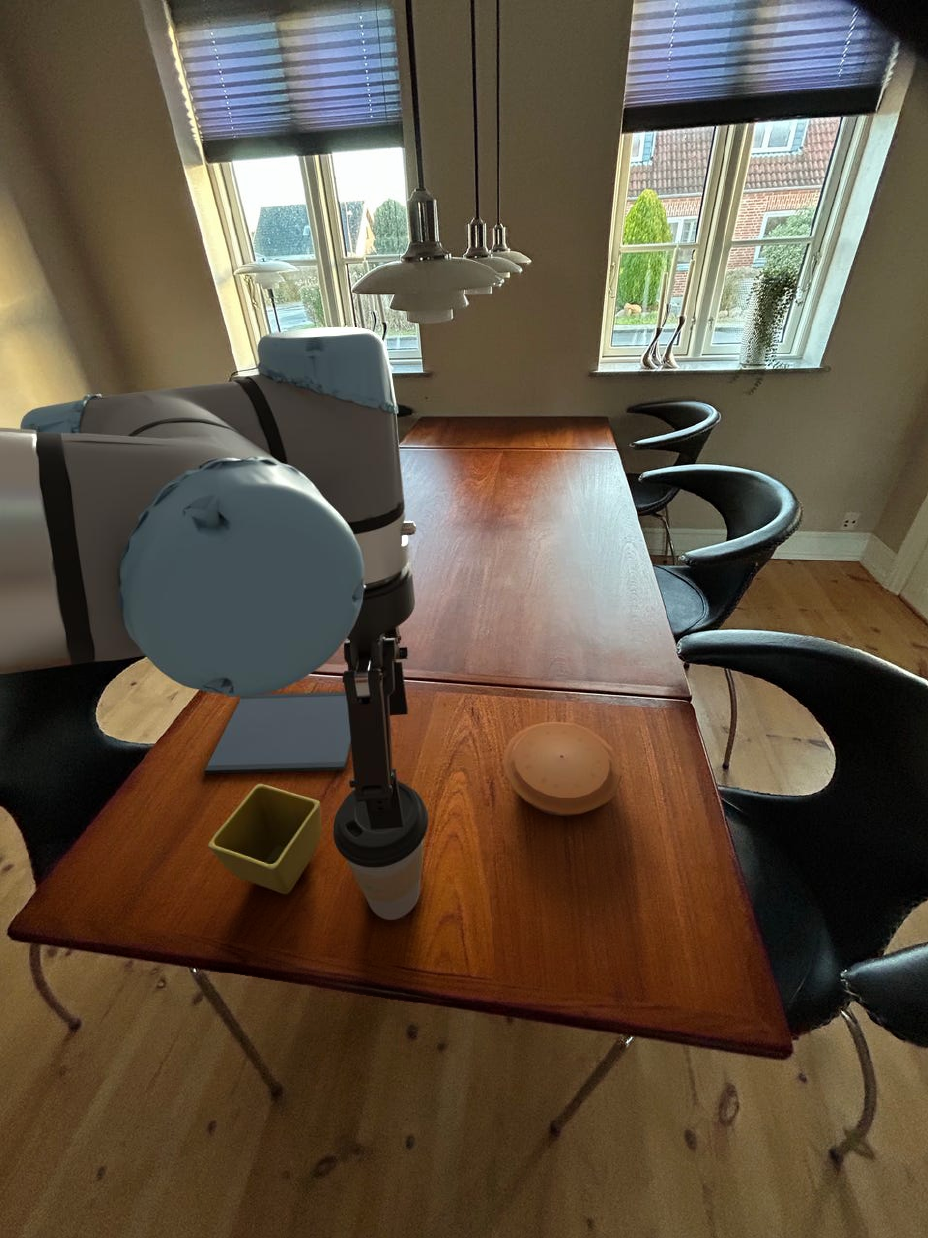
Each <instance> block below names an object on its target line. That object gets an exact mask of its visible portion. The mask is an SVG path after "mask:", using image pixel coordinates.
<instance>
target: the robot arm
mask: <svg viewBox="0 0 928 1238" xmlns="http://www.w3.org/2000/svg"><path fill="white" fill-rule="evenodd" d="M257 356H258V364H257V366H256V367H257V371H258V374H253V375H248V376H246V377H244V378H240V379H234V380H231V381H223V382H215V383H206V384H198V385H197V384H196V385H189V386H188V385H187V386H182V387H181V386H180V387H171V388H163V389H155V390H154V389H153V390H145V391H138V392H130V393H129V392H128V393H122V394H119V393H118V394H112V395H104V396H103V395H102V394H101V393H95V394H87V395H86V396H84V397H83V398H82V399H79V400H72V401H66V402H62V403H61V402H60V403H56V404H51V405H46V406H40V407H35V408H32V409H31V410H29V411H28V412H26V414H24V415H23V417H22V419H21V422H20V424H19V425H20V426H19V427H20V428H13V427H0V676H1V675H8V674H13V673H14V674H15V673H16V674H17V673H22V672H29V671H30V672H31V671H36V670H44V669H51V668H57V667H58V668H59V667H65V666H72V665H78V664H87V663H94V662H95V663H96V662H111V661H120V660H125V659H132V658H138V657H146V659H148V660H149V661H150V662H151V663H152V665H153V666H155V668H156V669H157V670H159V671H160V672H161V673H162V674H163V675H165V676H167V677H168V678H169V679H170V680H172V681H174V682H176V683H177V684H180V685H181V686H183V687H186V688H189V689H192V690H199V691H201V692H206V693H210V694H211V693H212V694H217V695H225V696H227V697H229V698H241V697H247V696H255V695H261V694H271V693H274V692H276V691H279V690H282V689H285V688H288V687H289V686H291V685H293V684H295V683H297V682H299V681H301V680H302V679H304V678H306V677H308V676H309V675H311V674H312V673H314V672H316V671H317V670H318V669H319V668H321V667H322V666H323V665H325V664H326V663H327V662H328V661H330V660H331V658H332V657H333V656H334V655H335V654H336V653H337V652H338V651H339V649H340V648H341V647H342V645H343V659H344V662H346V664H347V670H344V671H343V675H342V683H343V687H344V692H345V693H346V698H347V704H348V715H349V727H350V738H351V744H350V748H351V759H352V768H353V769H352V770H353V771H352V772H353V777H352V778H351V779H349V781H348V783H349V788H354V789H355V790H354V789H353V790H354V795H355V796H356V801H365V802H366V807H367V811H368V816H369V821H370V825H371V830H373V829H386V828H399V827H403V822H404V819H403V812H402V806H401V800H400V793H399V787H398V781H399V780H398V775H397V769H396V768H393V749H392V748H393V747H392V729H391V728H392V727H391V716H403V715H408V714H409V713H408V712H409V708H408V700H407V699H408V698H407V692H406V684H405V676H404V669H403V662H402V661H397V660H408V658H409V651H408V647H407V646H403V647H400V644H401V641H402V635H401V632H400V628H399V626H401V625H402V624H404V623H405V622H406V621H407V620H408V619H409V618H410V616H411V615H412V614H413V612H414V609H415V607H416V597H415V588H414V579H413V568H412V566H411V564H410V562H409V561H410V556H411V555H410V545H409V544H410V543H409V538H408V536H413V535H415V534H416V532H417V525H416V524H415V522H414V521H411V520H408V521H405V520H406V505H405V495H404V494H405V493H404V486H403V485H404V483H403V472H402V463H401V462H402V460H401V452H400V451H401V449H400V439H399V429H398V416H397V414H399V406H398V404H397V400H396V399H397V398H396V395H395V388H394V382H393V381H394V379H393V373H392V368H391V365H390V360H389V359H390V358H389V353H388V349H387V347H386V345H385V342H384V341H383V339H382V338H381V337H380V335H378V334H377V333H376V332H374V331H372V330H370V329H366V328H362V327H351V326H329V327H327V326H326V327H310V328H299V329H290V330H286V331H275V332H272V333H271V332H270V333H268V334H265V335H264V336H262V337H261V338H260V340H259V341H258V344H257Z"/></svg>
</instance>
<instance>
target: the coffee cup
mask: <svg viewBox="0 0 928 1238" xmlns="http://www.w3.org/2000/svg"><path fill="white" fill-rule="evenodd" d="M397 781H398V787H399V793H400V800H401V806H402V812H403V819H404V822H403V827H399V828H386V829H373V830H371V825H370V821H369V816H368V811H367V807H366V802H365V801H356V796H355V795H354V790H355V788H354V789H353V790H351V792H349V793H348V794H347V796H346V797H345V798H344V799H343V802H342V803H341V805H340V806H339V808H338V809H337V812H336V814H335V816H334V820H333V832H332V833H333V840H334V845H335V847H336V849H337V850H338V852H339V854H341V856H343V858H345V859H346V862H347V864H348V866H349V869H350V870H351V872H352V874H353V876H354V879H355V881H356V883H357V885H358V887H359V889H360V891H361V892H362V893H363V895H364V897H365V899H366V901H367V903H368V905H369V907H370V909H371V910H372V911H373V913H374V914H375V915H377V916H378V917H379V918H381V919H384V920H388V921H394V920H398V919H401V918H403V917H404V916H406V915H407V914H408V913H410V912H412V910H413V908H414V907H415V906H416V904H417V903H418V900H419V898H420V894H421V878H422V873H423V864H424V862H423V861H424V838H425V836H426V833H427V831H428V826H429V813H428V810H427V807H426V805H425V802H424V800H423V798H422V797H421V796H420V794H419V793H418V792H417V791H416V790H414V789H413V788H412V787H410V786H409V785H407V784H406V783H404V782H402V781H400V780H397Z"/></svg>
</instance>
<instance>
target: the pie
mask: <svg viewBox="0 0 928 1238" xmlns="http://www.w3.org/2000/svg"><path fill="white" fill-rule="evenodd" d="M501 766H502V770H503V773H504V777H505V779H506V781H507V782H508V784H509V786H510V788H511V789H512V790H513V792H514V793H515V794H516V795H518V796H519V797H520V798H521V799H522V800H523V801H525V802H526V803H527V804H529V805H530V806H531V805H532V807H534V808H536V809H537V810H539V811H541V812H542V813H545V814H549V815H553V816H556V817H557V816H558V817H569V816H575V815H582V814H585V813H587V812H591V811H593V810H596V809H597V808H599V807H601V806H604V805H605V804H607V803H609V802H610V801H611V800H612V798H613V796H614V795H615V794H616V793H617V791H618V789H619V787H620V783H621V780H622V777H623V775H622V766H621V762H620V759H619V758H618V756H617V754H616V752H615V750H614V749H613V748H612V747H611V746H610V745H609V744H608V742H607V741H606V740H605V739H604V738H602V737H601V736H599V735H597V734H596V733H595V732H594V731H592V730H590V729H588V728H586V727H584V726H582V725H579V724H577V723H570V722H564V721H563V722H562V721H549V722H547V721H545V722H543V723H537V724H533V725H529V726H528V727H526V728H523V729H522V730H519V731H518V732H517V733H516V734H515V735H514V736H513V737H511V739H510V740H509V741H508V743H507V746H506V748H505V750H504V753H503V758H502V763H501Z"/></svg>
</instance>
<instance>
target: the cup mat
mask: <svg viewBox="0 0 928 1238" xmlns="http://www.w3.org/2000/svg"><path fill="white" fill-rule="evenodd" d="M350 748H351V738H350V727H349V715H348V704H347V698H346V693H345V691H327V692H326V691H323V692H321V691H320V692H290V693H288V692H287V693H265V694H261V695H255V696H247V697H240V699H239V701H238V703H237V706H236V707H235V709H234V710H233V713H232V715H231V717H230V719H229V721H228V723H227V725H226V727H225V729H224V730H223V733H222V735H221V737H220V738H219V741H218V743H217V745H216V747H215V749H214V750H213V753H212V755H211V757H210V759H209V761H208V763H207V764H206V766H205V769H204V773H205V774H232V773H233V774H234V773H239V774H240V773H271V772H309V771H311V772H313V771H341V770H342V771H344V770H346V765H347V762H348V757H349V753H350Z"/></svg>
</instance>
